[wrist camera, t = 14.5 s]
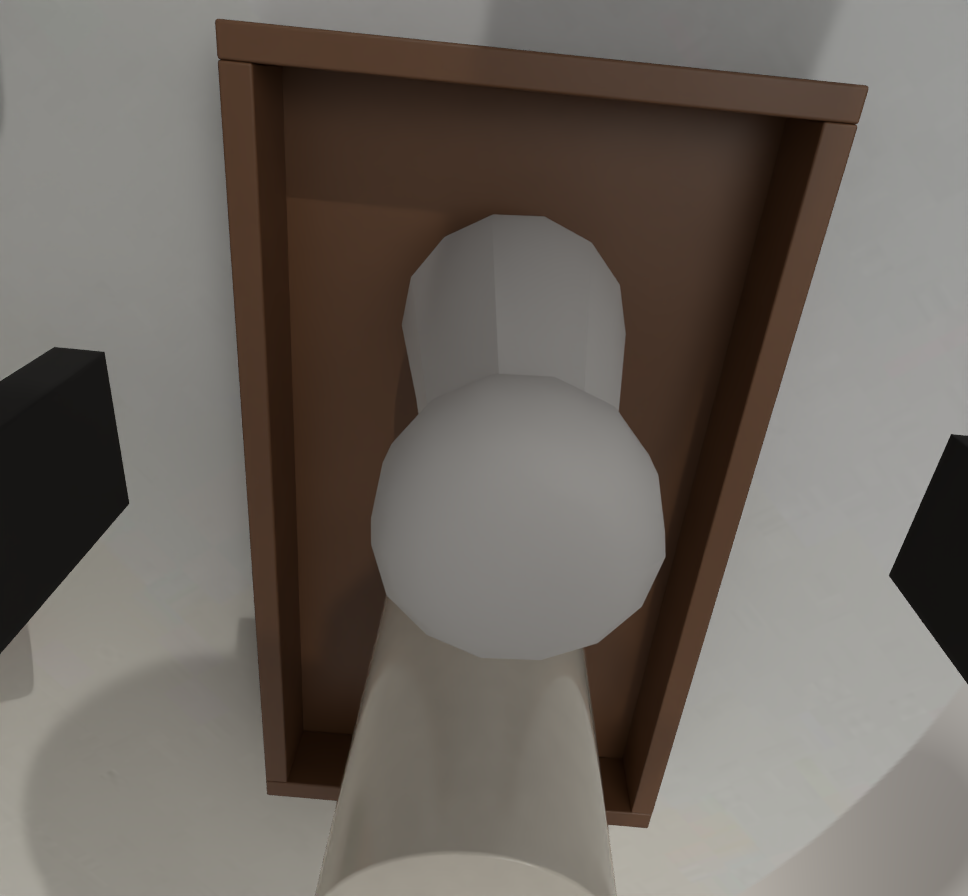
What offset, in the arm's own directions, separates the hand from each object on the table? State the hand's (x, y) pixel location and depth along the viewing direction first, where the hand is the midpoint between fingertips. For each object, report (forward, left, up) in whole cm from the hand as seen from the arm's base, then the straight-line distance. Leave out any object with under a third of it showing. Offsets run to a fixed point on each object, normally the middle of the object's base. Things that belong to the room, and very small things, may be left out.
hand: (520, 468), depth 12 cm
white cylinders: (+10, +7, -11) cm, 16 cm away
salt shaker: (0, 0, -11) cm, 11 cm away
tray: (+6, +4, -11) cm, 13 cm away
